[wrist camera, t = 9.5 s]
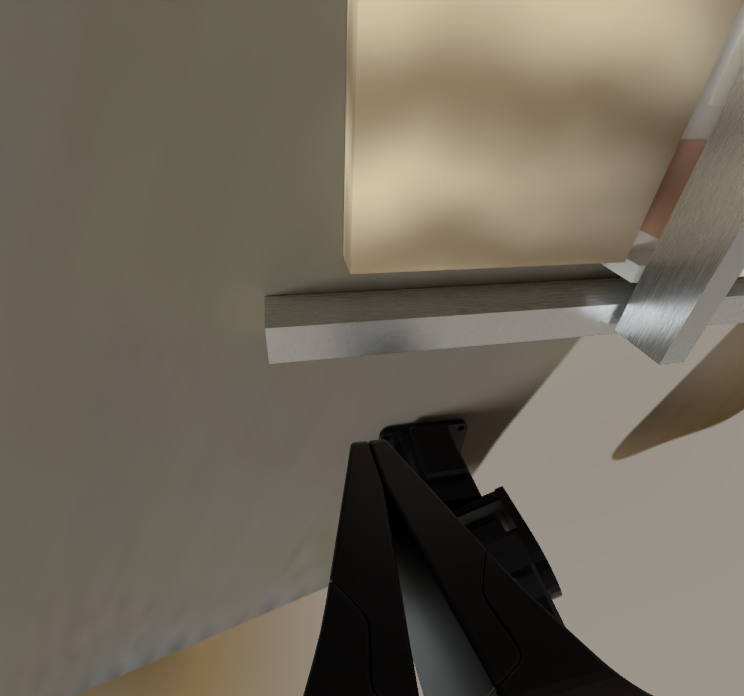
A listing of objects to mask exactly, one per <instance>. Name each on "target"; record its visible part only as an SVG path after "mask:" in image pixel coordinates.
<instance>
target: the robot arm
mask: <svg viewBox="0 0 744 696" xmlns="http://www.w3.org/2000/svg"><path fill="white" fill-rule="evenodd" d="M466 430H467V424H466V422H465V421H464V420H461V419H460V420H452V421H444V422H436V423H429V424H421V425H413V426H405V427H397V428H390V429H384V430H383V431H381V432H380V435H379V440H372V441H369V443H368V442H366V441H364V442H355V443H352V444H351V447H350V454H349V460H348V466H347V473H346V479H345V485H344V492H343V498H342V505H341V511H340V517H339V524H338V530H337V536H336V543H335V549H334V555H333V562H332V568H331V575H330V583H329V586H328V592H327V599H326V605H325V611H324V615H323V620H322V626H321V631H320V635H319V639H318V643H317V647H316V651H315V655H314V659H313V663H312V666H311V670H310V674H309V677H308V681H307V684H306V688H305V691H304V695H303V696H419V694H418V688H417V682H416V676H415V670H414V664H413V661H414V663H415V667H416V670H417V674H418V677H419V681H420V684H421V687H422V691H423V694H424V696H653V695H651V694H649V693H647V692H645V691H643V690H642V689H640V688H639V687H637V686H635V685H633V684H632V683H630V682H629V681H628V680H626V679H625V678H623V677H622V676H620V675H619V674H618V673H617V672H615V671H614V670H613V669H611V668H610V667H609V666H608V665H607V664H605V663H604V662H603V661H602V660H601V659H600V658H599V657H597V656H596V655H595V654H594V653H593V652H592V651H591V650H590V649H589V648H587V647H586V646H585V645H584V644H583V643H582V642H581V641H580V640H579V639H578V638H577V637H575V636H574V635H573V634H572V633H571V632H570V631H569V630H568V629H567V628H566V627H565V626H564V624H563V621H562V619H561V617H560V615H559V613H558V611H557V609H556V607H555V605H554V603H553V601H552V599H555V598H558V597H560V596H562V593H561V589H560V587H559V584H558V582H557V580H556V577H555V576H554V573H553V571H552V569H551V567H550V565H549V563H548V561H547V559H546V557H545V555H544V553H543V552H542V550H541V548H540V546H539V545H538V543H537V541H536V540H535V538H534V536H533V534H532V533H531V531H530V530H529V528H528V526H527V525H526V523H525V521H524V520H523V518H522V517H521V515H520V514H519V512H518V510H517V509H516V507H515V506H514V504H513V502H512V501H511V499H510V497H509V496H508V494H507V493H506V491H505V490H504V488H503V487H499V488H497V489H495V491H494V492H491V493H489V494H487V495H484V496H481V494H480V492H479V490H478V488H477V486H476V484H475V482H474V480H473V478H472V476H471V474H470V472H469V470H468V468H467V466H466V464H465V462H464V460H463V458H462V456H461V454H460V451H461V448H462V444H463V441H464V437H465V434H466Z"/></svg>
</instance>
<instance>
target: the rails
mask: <svg viewBox="0 0 744 696" xmlns="http://www.w3.org/2000/svg"><path fill="white" fill-rule="evenodd" d="M636 285H637V283H631V282H629V281H627V280H626V279H624V278H608V279H589V280H570V281H551V282H532V283H513V284H494V285H475V286H456V287H437V288H418V289H399V290H380V291H361V292H342V293H323V294H304V295H285V296H266V297H265V332H266V341H267V349H268V358H269V364H272V363H284V362H295V361H307V360H318V359H330V358H341V357H353V356H364V355H376V354H387V353H398V352H410V351H421V350H433V349H444V348H456V347H467V346H479V345H490V344H502V343H513V342H525V341H536V340H548V339H559V338H571V337H582V336H594V335H604V334H617V333H618V332H617V331H615V328H616V326H617V324H618V322H619V320H620V318H621V316H622V314H623V312H624V310H625V308H626V306H627V304H628V302H629V300H630V298H631V296H632V294H633V292H634V289H635V287H636ZM743 322H744V277H738V278H737V280H736V281H735V283H734V284H733V286H732V287H731V289H730V291H729V292H728V294H727V295H726V297H725V298H724V300H723V301H722V303H721V304H720V306H719V308H718V309H717V311H716V312H715V314H714V315H713V317H712V318H711V320H710V321H709V323H708V325H720V324H731V323H743ZM708 325H707V326H708Z"/></svg>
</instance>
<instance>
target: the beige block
mask: <svg viewBox="0 0 744 696" xmlns="http://www.w3.org/2000/svg"><path fill="white" fill-rule="evenodd" d="M743 68H744V30H743V32H742V34H741V36H740V38H739V40H738V42H737V44H736V47H735V49H734V51H733V53H732V55H731V57H730V59H729V61H728V64H727V66H726V68H725V70H724V72H723V74H722V76H721V78H720V81H719V83H718V85H717V87H716V89H715V91H714V93H713V96H712V98H711V100H710V102H709V104H708V105H716V106H725V104H726V102H727V100H728V98H729V96H730V94H731V92H732V90H733V88H734V86H735V84H736V82H737V80H738V78H739V76H740V74H741V72H742V70H743Z"/></svg>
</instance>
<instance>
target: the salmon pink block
mask: <svg viewBox="0 0 744 696" xmlns="http://www.w3.org/2000/svg"><path fill="white" fill-rule="evenodd" d="M707 141H708V140H683V139H681V140H680V142H679V144H678V147H677V149H676V151H675V153H674V155H673V158H672V160H671V162H670V164H669V166H668V169H667V171H666V173H665V175H664V177H663V180H662V182H661V184H660V186H659V188H658V191H657V193H656V195H655V197H654V199H653V202H652V204H651V206H650V208H649V210H648V213H647V215H646V217H645V219H644V221H643V224H642V226H641V228H640V231H642V232H644V233H647V234H649V235H651V236H653V237H655V238H657V239H660V237H661V235H662V232H663V230H664V228H665V226H666V224H667V222H668V220H669V218H670V216H671V214H672V212H673V210H674V208H675V206H676V204H677V202H678V200H679V198H680V196H681V194H682V192H683V190H684V188H685V186H686V184H687V182H688V180H689V178H690V175H691V173H692V171H693V169H694V167H695V165H696V163H697V161H698V159H699V157H700V155H701V153H702V151H703V149H704V147H705V145H706V143H707Z"/></svg>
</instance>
